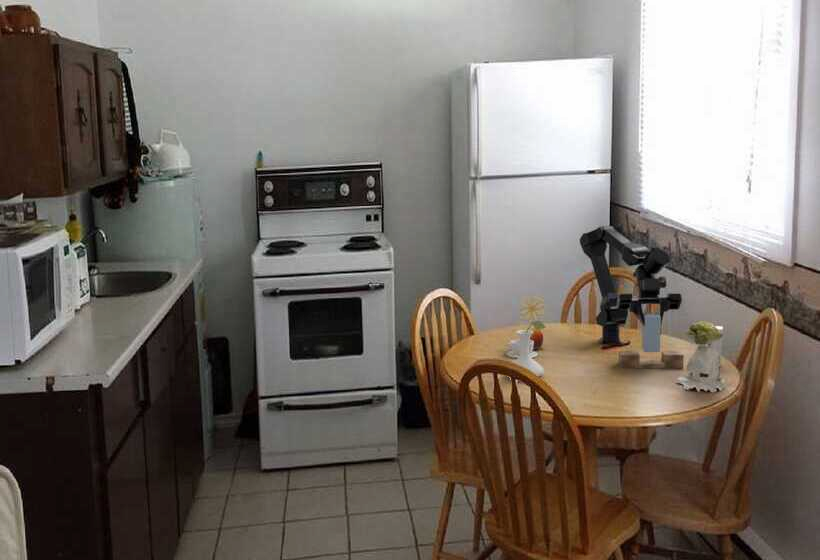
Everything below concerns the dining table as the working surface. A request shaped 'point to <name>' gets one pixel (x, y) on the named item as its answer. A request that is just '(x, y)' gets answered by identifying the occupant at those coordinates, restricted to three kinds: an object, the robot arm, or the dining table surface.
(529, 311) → the flower in vase
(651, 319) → the blue block
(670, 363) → the slotted plank
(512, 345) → the teacup
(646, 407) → the dining table surface
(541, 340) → the fruit
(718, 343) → the skincare box
